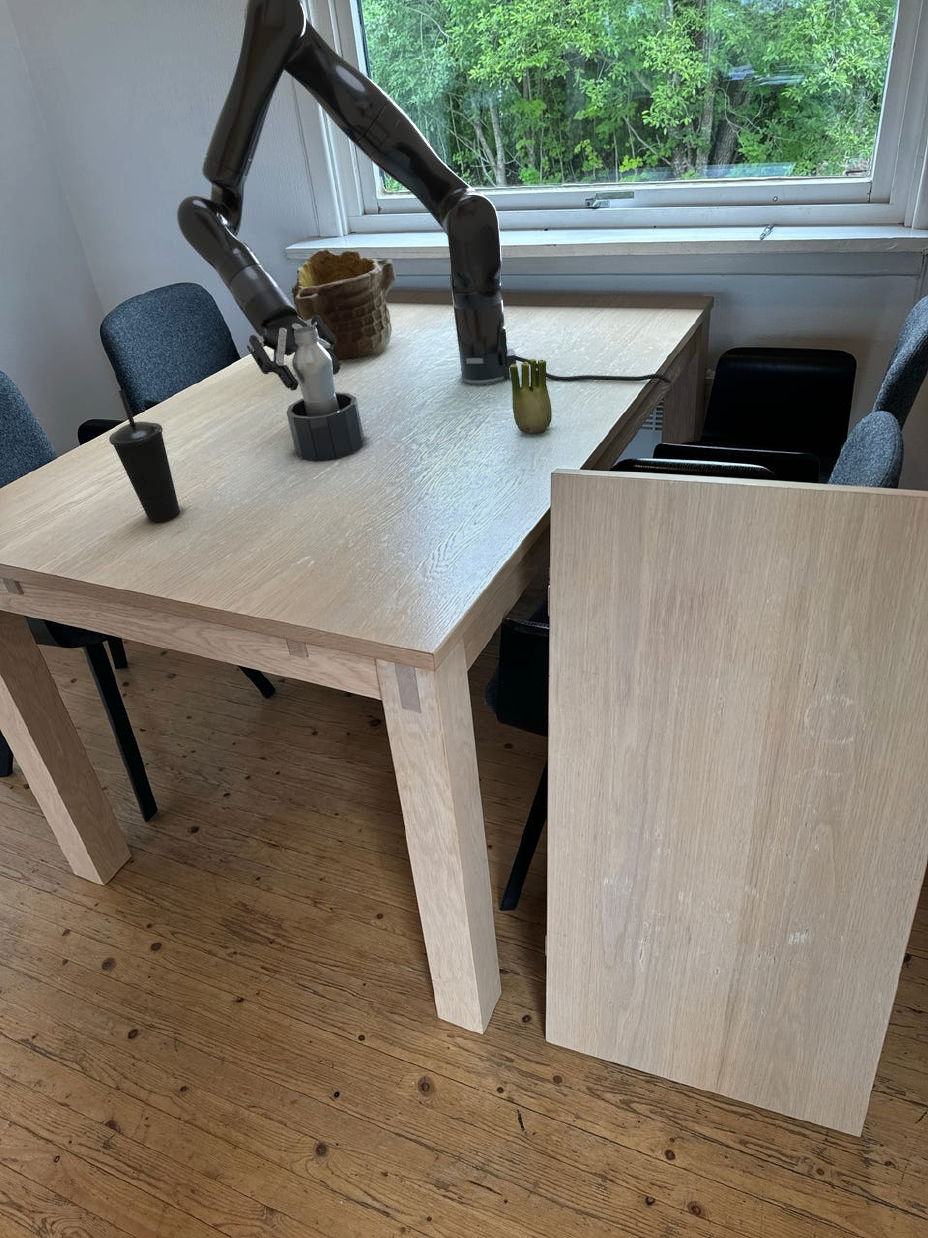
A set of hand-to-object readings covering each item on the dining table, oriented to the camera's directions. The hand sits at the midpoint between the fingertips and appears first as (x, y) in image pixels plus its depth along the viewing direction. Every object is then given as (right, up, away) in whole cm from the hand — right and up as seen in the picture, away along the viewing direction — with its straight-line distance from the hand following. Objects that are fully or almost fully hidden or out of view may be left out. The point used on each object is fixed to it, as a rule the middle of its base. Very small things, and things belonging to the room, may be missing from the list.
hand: (317, 379), depth 144 cm
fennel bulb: (+36, -8, +2) cm, 37 cm away
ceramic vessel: (-1, +19, +50) cm, 54 cm away
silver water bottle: (+1, -10, +7) cm, 12 cm away
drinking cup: (-22, -24, -8) cm, 34 cm away
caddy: (+1, -10, +7) cm, 12 cm away
